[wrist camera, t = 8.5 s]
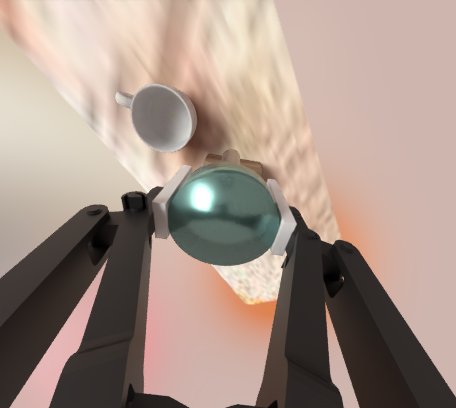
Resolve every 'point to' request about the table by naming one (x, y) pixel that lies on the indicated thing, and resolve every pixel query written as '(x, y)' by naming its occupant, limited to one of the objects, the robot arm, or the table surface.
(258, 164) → the block
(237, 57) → the table surface
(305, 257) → the robot arm
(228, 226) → the teal rounded knob
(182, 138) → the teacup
